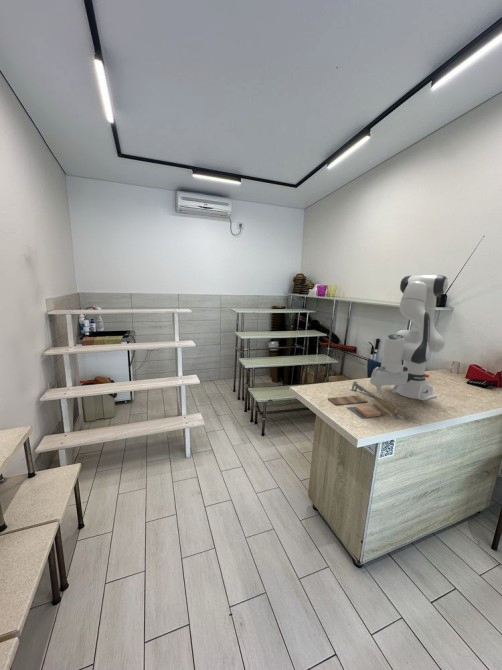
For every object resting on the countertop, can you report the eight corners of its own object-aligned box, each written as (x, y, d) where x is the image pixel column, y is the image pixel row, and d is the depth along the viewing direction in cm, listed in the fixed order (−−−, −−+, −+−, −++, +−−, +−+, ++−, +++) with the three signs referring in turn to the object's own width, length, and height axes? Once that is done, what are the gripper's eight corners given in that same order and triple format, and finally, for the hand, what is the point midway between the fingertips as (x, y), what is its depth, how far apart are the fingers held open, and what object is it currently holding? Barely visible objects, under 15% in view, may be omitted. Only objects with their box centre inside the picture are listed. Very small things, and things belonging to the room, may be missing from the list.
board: (357, 397, 148) (358, 395, 148) (367, 403, 140) (367, 401, 140) (327, 400, 142) (327, 398, 142) (336, 406, 135) (336, 404, 134)
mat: (368, 406, 137) (368, 405, 137) (385, 416, 126) (385, 416, 125) (346, 408, 133) (346, 407, 133) (362, 419, 122) (362, 418, 122)
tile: (368, 405, 132) (380, 412, 125) (368, 408, 133) (380, 416, 125) (355, 406, 130) (367, 414, 123) (355, 410, 130) (366, 417, 123)
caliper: (351, 389, 160) (352, 380, 159) (352, 389, 160) (353, 380, 159) (383, 402, 143) (384, 391, 142) (384, 402, 144) (385, 391, 143)
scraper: (379, 405, 139) (381, 396, 138) (404, 419, 124) (406, 409, 123) (372, 405, 138) (373, 397, 137) (396, 420, 122) (398, 410, 122)
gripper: (378, 369, 122) (374, 396, 125) (411, 368, 128) (407, 394, 130) (369, 365, 128) (365, 391, 131) (401, 364, 134) (397, 389, 136)
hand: (386, 392), depth 131 cm, fingers open, 8 cm apart
